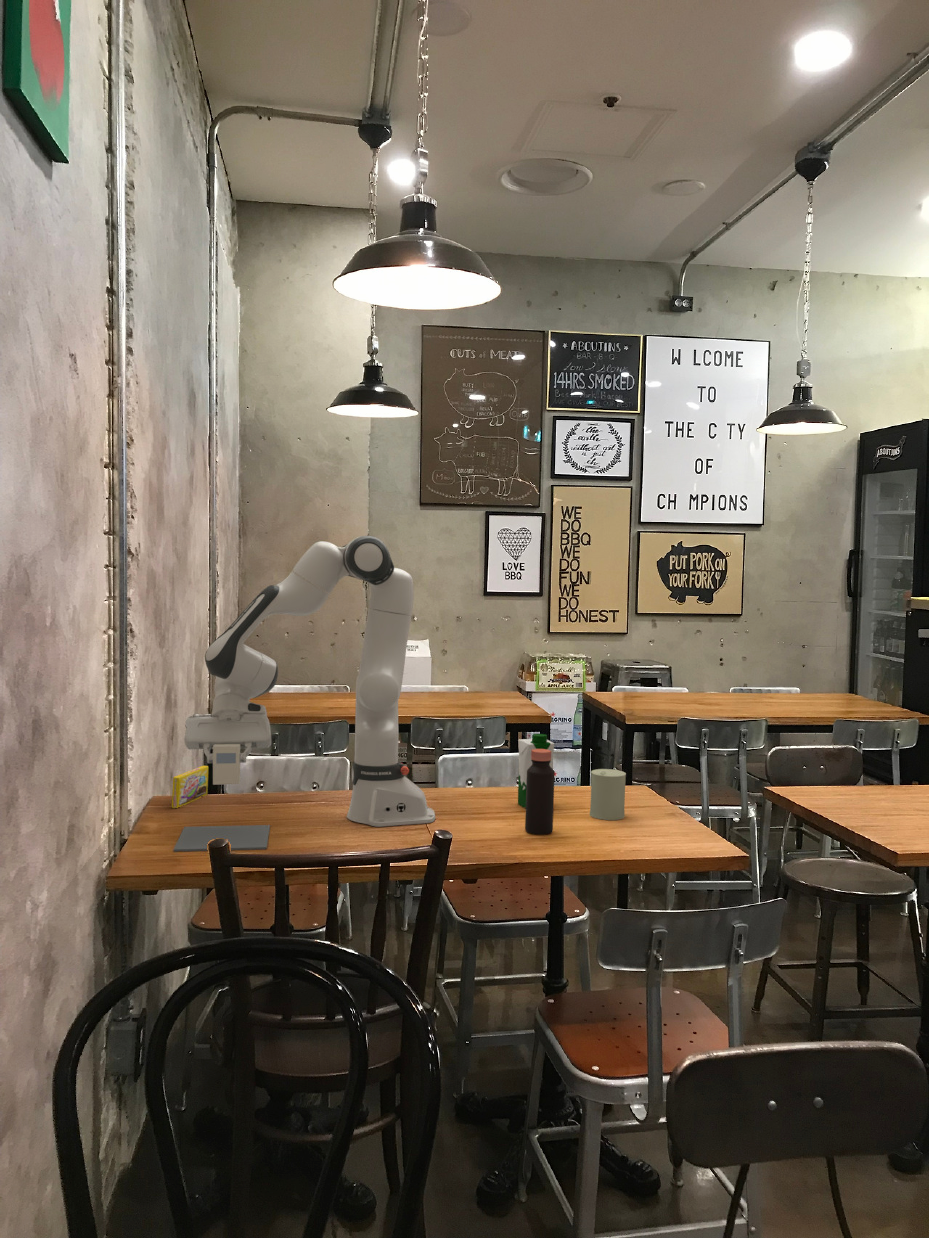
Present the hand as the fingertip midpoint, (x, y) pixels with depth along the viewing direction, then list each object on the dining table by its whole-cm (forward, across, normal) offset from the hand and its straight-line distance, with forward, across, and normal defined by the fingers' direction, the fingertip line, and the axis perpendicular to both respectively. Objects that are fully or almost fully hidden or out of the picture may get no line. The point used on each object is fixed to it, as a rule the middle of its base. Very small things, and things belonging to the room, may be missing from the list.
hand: (226, 761), depth 211 cm
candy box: (-10, -12, +34) cm, 37 cm away
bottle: (+16, +75, +10) cm, 77 cm away
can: (+7, +97, +19) cm, 99 cm away
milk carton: (-1, +80, +27) cm, 84 cm away
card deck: (+3, 0, +4) cm, 5 cm away
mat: (+16, 0, +8) cm, 18 cm away
